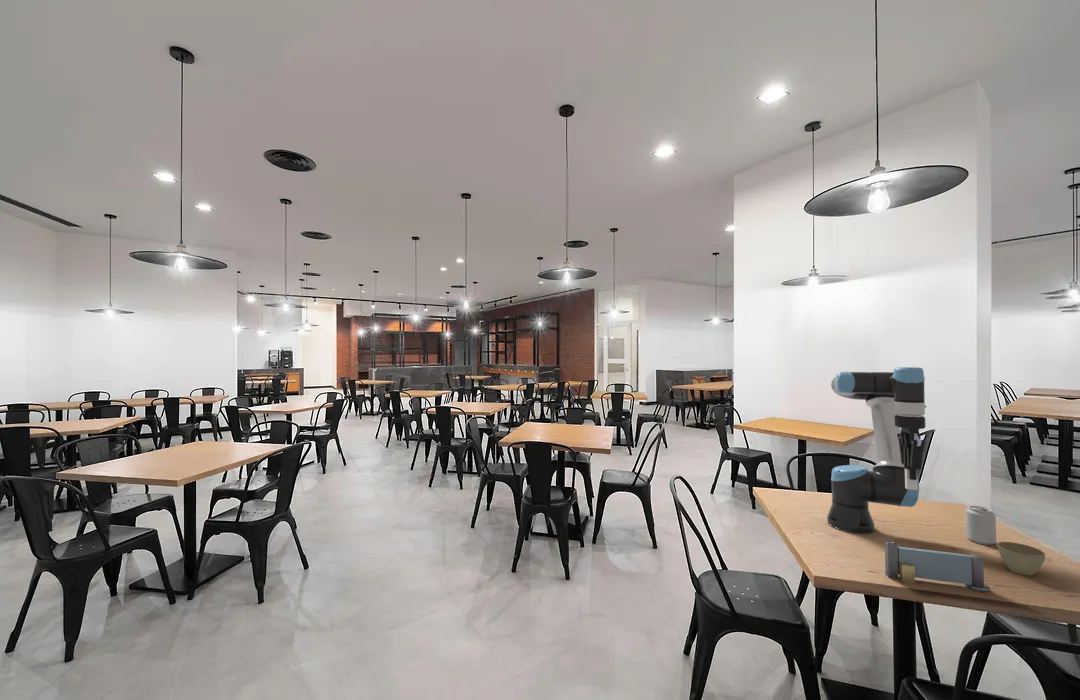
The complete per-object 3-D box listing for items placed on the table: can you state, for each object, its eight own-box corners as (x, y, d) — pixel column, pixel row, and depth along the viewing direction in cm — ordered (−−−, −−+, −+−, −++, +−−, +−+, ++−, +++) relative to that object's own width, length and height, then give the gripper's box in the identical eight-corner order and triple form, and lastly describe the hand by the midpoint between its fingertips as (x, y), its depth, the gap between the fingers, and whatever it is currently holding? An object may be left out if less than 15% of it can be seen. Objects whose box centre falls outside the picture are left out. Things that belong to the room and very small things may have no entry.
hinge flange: (965, 588, 123) (965, 585, 123) (964, 581, 127) (964, 579, 127) (990, 594, 120) (990, 591, 120) (988, 587, 124) (988, 584, 124)
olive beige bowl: (988, 564, 137) (987, 542, 137) (1016, 563, 138) (1015, 540, 138) (1026, 580, 127) (1025, 556, 127) (1056, 579, 128) (1055, 554, 128)
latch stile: (891, 580, 128) (890, 546, 128) (885, 573, 132) (884, 540, 132) (914, 583, 126) (914, 549, 126) (908, 576, 130) (907, 543, 130)
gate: (980, 583, 124) (979, 555, 125) (986, 587, 122) (985, 559, 122) (896, 572, 131) (895, 545, 131) (900, 576, 129) (899, 549, 129)
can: (1002, 546, 150) (1001, 512, 150) (977, 545, 152) (976, 510, 152) (985, 538, 158) (984, 504, 158) (961, 536, 159) (960, 503, 159)
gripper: (934, 418, 131) (936, 496, 130) (914, 413, 143) (916, 484, 143) (904, 417, 134) (905, 493, 133) (887, 412, 146) (888, 482, 145)
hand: (911, 488), depth 138 cm, fingers closed
